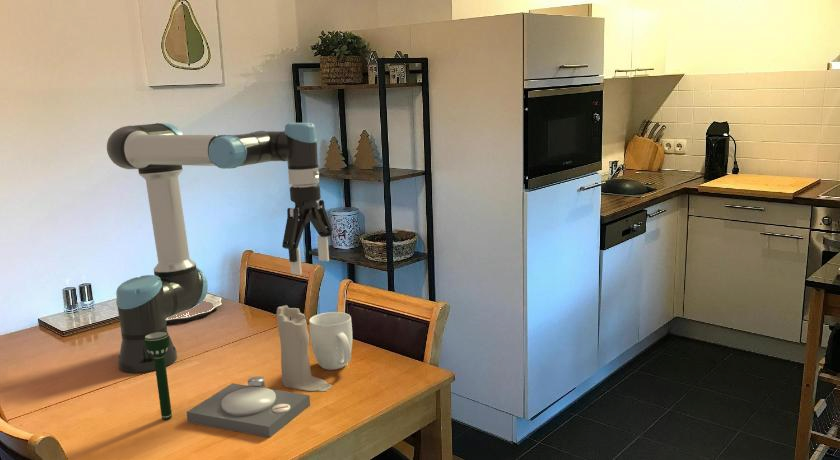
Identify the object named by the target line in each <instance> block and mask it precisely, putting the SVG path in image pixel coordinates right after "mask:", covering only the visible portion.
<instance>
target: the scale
mask: <svg viewBox="0 0 840 460" xmlns="http://www.w3.org/2000/svg"><path fill="white" fill-rule="evenodd" d="M310 396H311V395H310V394H306V393H305V394H304V393H300V392H292V391H285V390H279V389H271V388H267V387H265V388H263V387H254V386H248V384H247V385H245V384H240V383H233V382H231V383H230V384H229V385H227V386H225V387H224V388H222V389H221V390H219V391H218V392H216V393H215V394H213V395H211V396H210V397H208V398H206V399H205V400H204V401H201V402H200V403H199V404H197V405H196V406H193V407H192V408H191V409H189V410H187V411H186V418H187V423H190V424H194V425H195V424H196V425H200V426H206V427H211V428H216V429H222V430H225V431H226V430H228V431H233V432H239V433H244V434H249V435H255V436H259V437H265V438H270V439H271V437H272V436H274V435H275V434H277V432H279V431H280V430H281V429H282V428H284V427H285V426H286V425H288V423H290V422H291V421H293V419H295V418H296V417H297V416H299V415H300V414H301V413H302V412H304V411H305V410H306V409H307V408H308V407H310V406H311V399H310V398H311V397H310Z"/></svg>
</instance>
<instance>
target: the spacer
mask: <svg viewBox="0 0 840 460" xmlns="http://www.w3.org/2000/svg"><path fill="white" fill-rule="evenodd" d="M247 386H254V387H263V388H266V384H265V377H264V376H258V375H257V376H252V377H249V378H248V379H247Z"/></svg>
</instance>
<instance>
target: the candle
mask: <svg viewBox="0 0 840 460" xmlns="http://www.w3.org/2000/svg"><path fill="white" fill-rule="evenodd" d="M276 324H277V330H278V335H279V341H280V353H281V354H280V364H281V365H280V369H281V370H280V371H281V380H282V381H281V382H282V385H283V386H284V387H285V388H291V389H295V390H300V391H305V392H317V391H318V392H328V391H329V390H330V389H331V388H332V387H333V384H331V383H327V381H326V380H325V379H322V378H319V377H315V376H313V375H312V371H311V365H310V352H309V350H310V349H309V345H310V332H309V331H308V324H307V320H306V316H305V314H304V313H302V312H301V311H300V308H298V307H297V308H296V307H289V306H288V305H286V304H285V305H282V306H278V307H277V308H276Z"/></svg>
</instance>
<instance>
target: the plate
mask: <svg viewBox="0 0 840 460" xmlns="http://www.w3.org/2000/svg"><path fill="white" fill-rule="evenodd" d="M203 301H206V302H210V303H212V304H213V306H214V307H213V308H212V309H211V310H209V311H207V312H202V313H198V314H195V315H192V316H190V315H189V312H188V314H187V313H186V315H184V314H183V315H184V316H186V317H181V318H178V317H176V318H173V319H172V318H171V319H168V318H167V319H166V324H175V323H174V322H176V323H182V322H181V321H183V322H186V321H187V320H188V321H191V319H192V320H196V319H199V318H202V317H204V316H206V315H208V314H210V313H211V312H213V311H215V310H216V309H217V308H219V307H221V306H222V305H223V304H222V302H221V301H222V297H220V296H215V295H212V294H211V293H210V294H209V293H207V294H206V297H205V299H204V300H203ZM187 315H189V317H188V316H187ZM176 316H177V315H176ZM181 316H182V315H181ZM201 316H202V317H201ZM179 317H180V316H179ZM198 317H199V318H198ZM195 318H196V319H195Z"/></svg>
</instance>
